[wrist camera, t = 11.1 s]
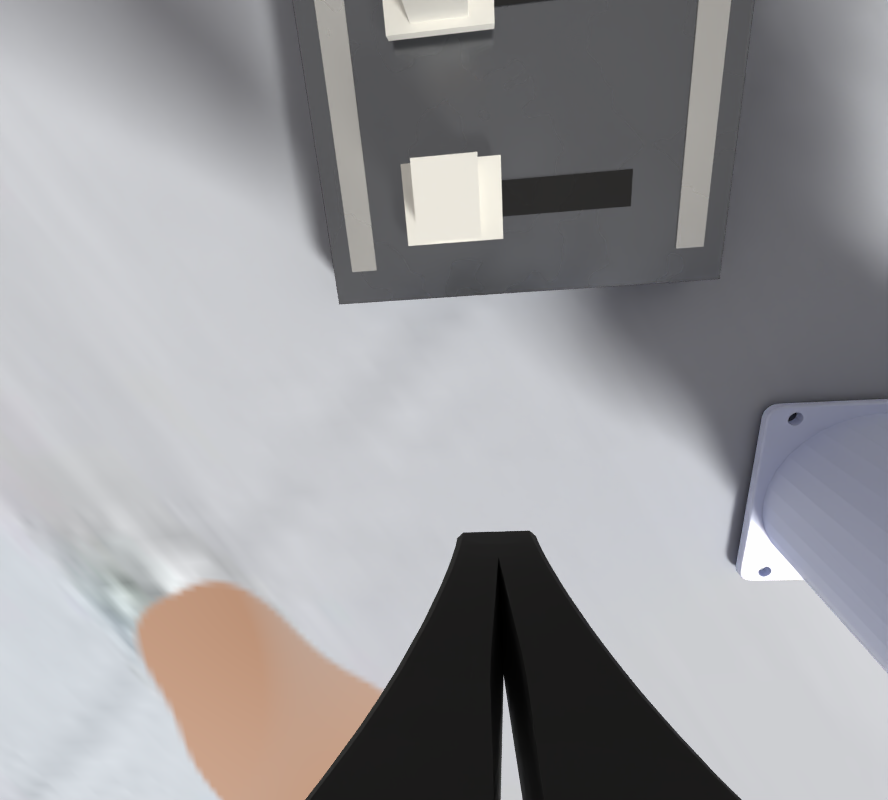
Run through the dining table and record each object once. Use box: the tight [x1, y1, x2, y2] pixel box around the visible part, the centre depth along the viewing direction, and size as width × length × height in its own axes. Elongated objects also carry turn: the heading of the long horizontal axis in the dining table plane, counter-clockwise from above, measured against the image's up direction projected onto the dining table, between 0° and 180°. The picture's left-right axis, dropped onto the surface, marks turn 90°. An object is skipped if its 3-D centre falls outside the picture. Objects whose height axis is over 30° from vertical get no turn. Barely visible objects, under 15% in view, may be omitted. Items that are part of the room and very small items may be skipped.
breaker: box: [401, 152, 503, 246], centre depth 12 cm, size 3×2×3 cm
